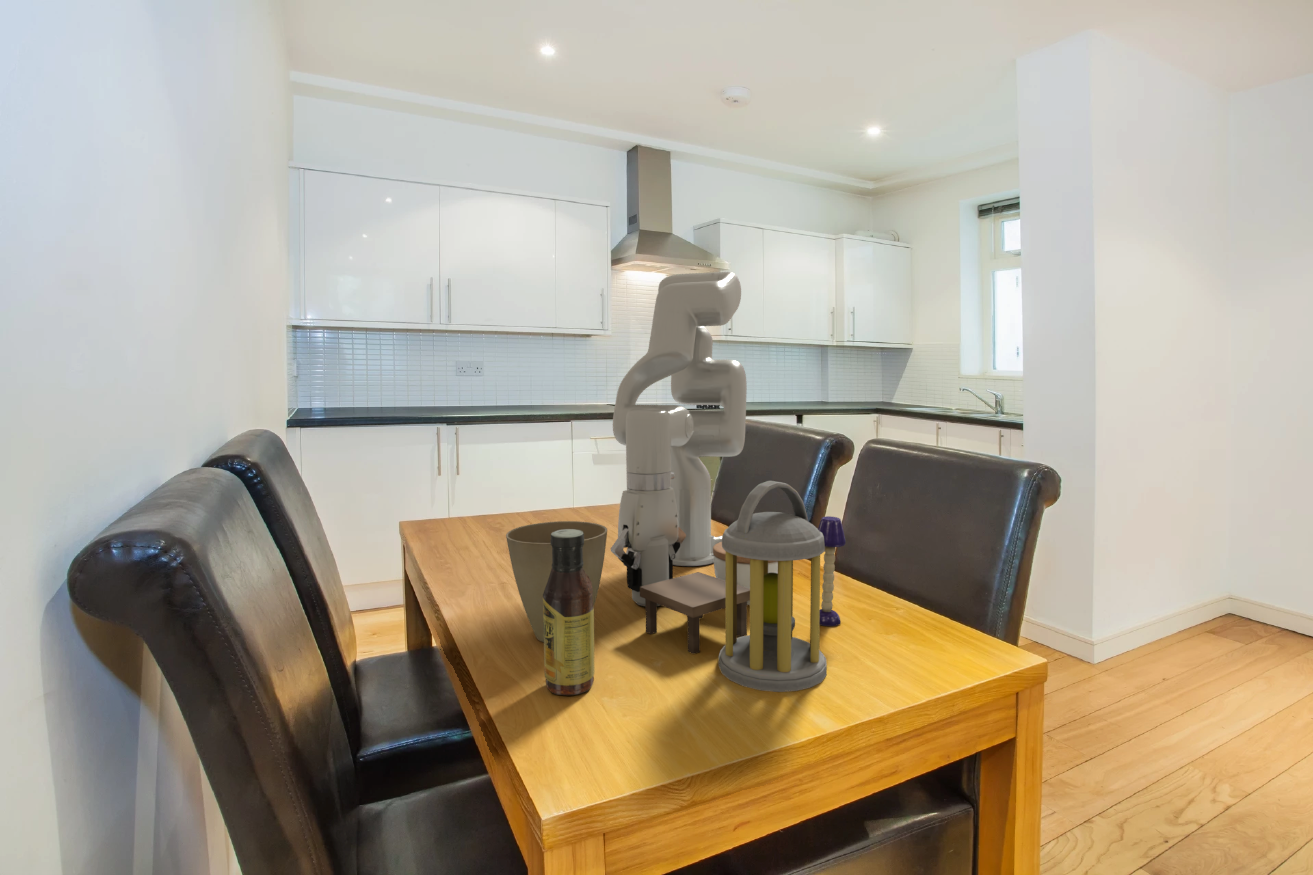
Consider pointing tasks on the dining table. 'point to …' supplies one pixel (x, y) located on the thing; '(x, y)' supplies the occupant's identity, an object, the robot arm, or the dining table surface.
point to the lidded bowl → (742, 567)
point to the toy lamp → (830, 567)
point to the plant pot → (550, 562)
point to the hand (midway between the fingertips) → (650, 584)
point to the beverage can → (653, 565)
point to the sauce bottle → (568, 618)
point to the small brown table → (693, 602)
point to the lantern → (772, 597)
